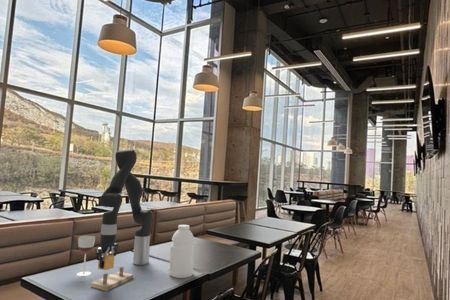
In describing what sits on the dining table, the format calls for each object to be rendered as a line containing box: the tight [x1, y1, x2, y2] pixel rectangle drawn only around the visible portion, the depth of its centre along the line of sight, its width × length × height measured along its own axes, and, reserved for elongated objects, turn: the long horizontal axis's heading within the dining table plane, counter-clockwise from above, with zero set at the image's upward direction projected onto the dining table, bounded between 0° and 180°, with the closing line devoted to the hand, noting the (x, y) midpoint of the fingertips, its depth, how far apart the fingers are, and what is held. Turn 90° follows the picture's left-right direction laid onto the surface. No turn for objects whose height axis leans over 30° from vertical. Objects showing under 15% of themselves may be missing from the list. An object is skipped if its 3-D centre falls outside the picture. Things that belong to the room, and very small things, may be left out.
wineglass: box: [76, 235, 96, 277], centre depth 171 cm, size 8×9×20 cm
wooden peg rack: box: [90, 266, 134, 292], centre depth 160 cm, size 20×10×6 cm, turn 159°
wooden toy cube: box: [97, 254, 115, 271], centre depth 155 cm, size 5×5×6 cm
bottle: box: [168, 224, 196, 279], centre depth 179 cm, size 14×14×28 cm
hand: (105, 266), depth 155 cm, fingers closed on wooden toy cube, 5 cm apart
